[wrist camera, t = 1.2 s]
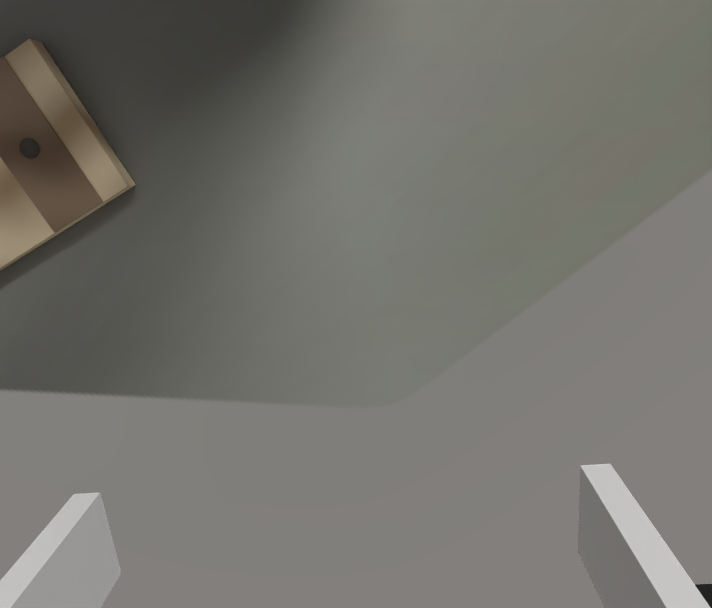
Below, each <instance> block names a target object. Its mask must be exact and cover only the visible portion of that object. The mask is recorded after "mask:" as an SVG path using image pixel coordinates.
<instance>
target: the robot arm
mask: <svg viewBox="0 0 712 608" xmlns="http://www.w3.org/2000/svg"><path fill="white" fill-rule="evenodd" d="M578 553H579V555H580V557H581V559H582V561H583V563H584V566H585V568H586V570H587V572H588V574H589V576H590V578H591V580H592V582H593V584H594V587H595V589H596V591H597V593H598V595H599V597H600V599H601V601H602V603H603V605H604V608H712V584H700V585H694V583H693V582H692V581H691V579H690V577H689V576H688V575H687V573H686V572H685V570H684V569H683V568H682V566H681V565H680V563H679V562H678V560H677V559H676V557H675V556H674V555H673V553H672V552H671V550H670V549H669V547H668V546H667V545H666V543H665V542H664V540H663V539H662V538H661V536H660V534H659V533H658V532H657V530H656V529H655V527H654V526H653V525H652V523H651V522H650V520H649V519H648V517H647V516H646V514H645V513H644V512H643V510H642V509H641V507H640V506H639V505H638V503H637V502H636V500H635V499H634V497H633V496H632V494H631V493H630V492H629V490H628V489H627V487H626V486H625V485H624V483H623V482H622V480H621V479H620V477H619V476H618V474H617V473H616V472H615V470H614V469H613V467H612V466H611V464H599V465H581V466H580V496H579V533H578ZM120 574H121V569H120V566H119V562H118V558H117V554H116V551H115V547H114V543H113V539H112V535H111V532H110V528H109V524H108V520H107V516H106V513H105V509H104V505H103V502H102V497H101V494H100V493H83V494H74V495H73V496H72V497H71V498H70V499H69V500H68V502H67V503H66V504H65V505H64V506H63V507H62V509H61V510H60V511H59V512H58V513H57V515H56V516H55V517H54V518H53V519H52V520H51V522H50V523H49V524H48V525H47V526H46V527H45V529H44V530H43V531H42V532H41V533H40V534H39V536H38V537H37V538H36V539H35V540H34V542H33V543H32V544H31V545H30V546H29V548H28V549H27V550H26V551H25V552H24V553H23V555H22V556H21V557H20V558H19V559H18V560H17V562H16V563H15V564H14V565H13V566H12V567H11V569H10V570H9V571H8V572H7V573H6V574H5V576H4V577H3V578H2V579H1V580H0V608H101V607H102V605H103V603H104V601H105V600H106V598H107V596H108V595H109V593H110V591H111V590H112V588H113V586H114V584H115V583H116V581H117V579H118V578H119V576H120Z"/></svg>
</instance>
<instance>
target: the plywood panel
mask: <svg viewBox="0 0 712 608" xmlns="http://www.w3.org/2000/svg"><path fill="white" fill-rule="evenodd" d="M135 185H136V184H135V183H134V181H133V180H132V178H131V177H130V175H129V174H128V172H127V171H126V169H125V168H124V166H123V165H122V163H121V162H120V160H119V159H118V157H117V156H116V154H115V153H114V151H113V150H112V148H111V147H110V145H109V144H108V142H107V141H106V139H105V138H104V136H103V135H102V133H101V132H100V130H99V129H98V127H97V126H96V124H95V123H94V121H93V120H92V118H91V117H90V115H89V113H88V112H87V110H86V109H85V107H84V106H83V104H82V103H81V101H80V100H79V98H78V97H77V95H76V94H75V92H74V91H73V89H72V88H71V86H70V85H69V83H68V82H67V80H66V79H65V77H64V76H63V74H62V73H61V71H60V70H59V68H58V67H57V65H56V64H55V62H54V61H53V59H52V58H51V56H50V55H49V53H48V52H47V50H46V49H45V47H44V46H43V44H42V43H41V42H39V41H36V40H33V39H28V40H26V41H25V42H24V43H22V44H21V45H20V46H18V47H17V48H15V49H14V50H13V51H11V52H10V53H9V54H7V55H6V56H4V57H1V58H0V271H2V270H3V269H5V268H6V267H8V266H9V265H11V264H13V263H14V262H16V261H17V260H19V259H20V258H22V257H24V256H25V255H27V254H28V253H30V252H31V251H33V250H35V249H36V248H38V247H39V246H41V245H42V244H44V243H45V242H47V241H49V240H50V239H52V238H53V237H55V236H56V235H58V234H60V233H61V232H63V231H64V230H66V229H67V228H69V227H71V226H72V225H74V224H75V223H77V222H78V221H80V220H82V219H83V218H85V217H86V216H88V215H89V214H91V213H93V212H94V211H96V210H97V209H99V208H100V207H102V206H104V205H105V204H107V203H108V202H110V201H111V200H113V199H115V198H116V197H118V196H119V195H121V194H122V193H124V192H125V191H127V190H129V189H130V188H132V187H133V186H135Z"/></svg>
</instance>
